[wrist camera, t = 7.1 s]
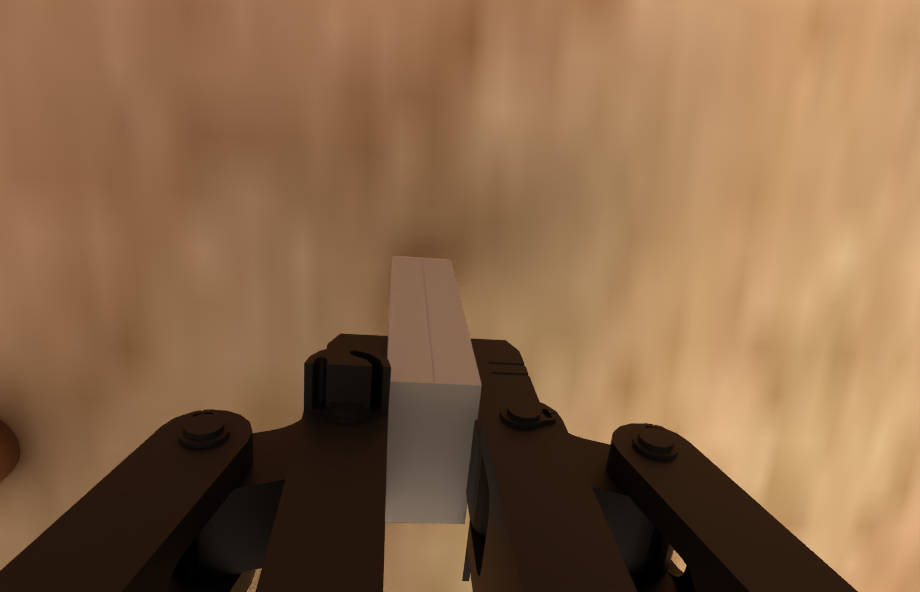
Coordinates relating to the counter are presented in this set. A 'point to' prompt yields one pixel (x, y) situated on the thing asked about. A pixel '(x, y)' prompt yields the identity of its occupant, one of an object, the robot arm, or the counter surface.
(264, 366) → the counter surface
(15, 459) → the gate post
